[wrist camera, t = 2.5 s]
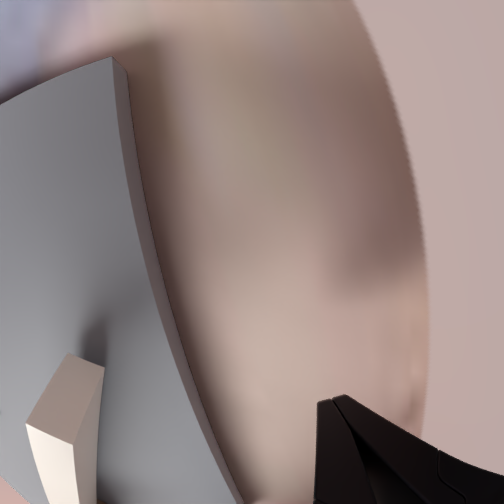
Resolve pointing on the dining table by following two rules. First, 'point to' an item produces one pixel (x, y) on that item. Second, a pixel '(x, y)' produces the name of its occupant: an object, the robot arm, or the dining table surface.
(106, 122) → the dial plate
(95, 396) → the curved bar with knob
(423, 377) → the dining table surface
